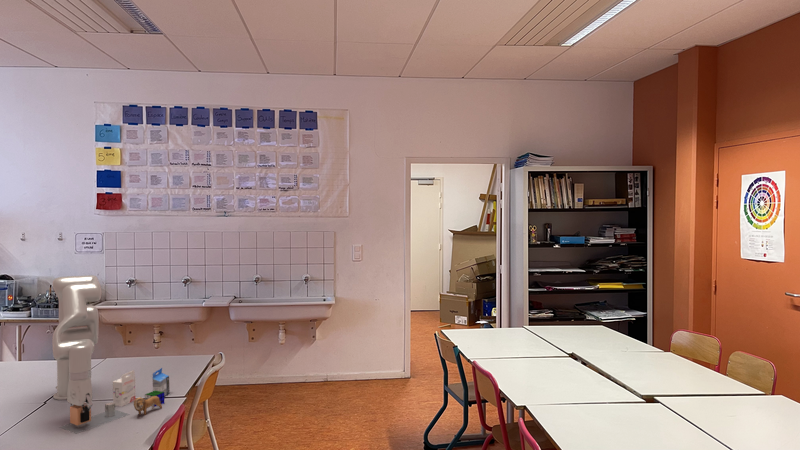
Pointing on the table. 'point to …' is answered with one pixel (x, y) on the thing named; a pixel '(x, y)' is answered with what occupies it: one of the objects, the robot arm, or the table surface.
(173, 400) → the table surface
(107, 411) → the post
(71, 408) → the orange wooden cube
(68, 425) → the board
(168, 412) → the table surface
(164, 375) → the label tape box
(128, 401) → the ink cartridge box
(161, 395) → the puzzle toy
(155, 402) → the lion figurine
